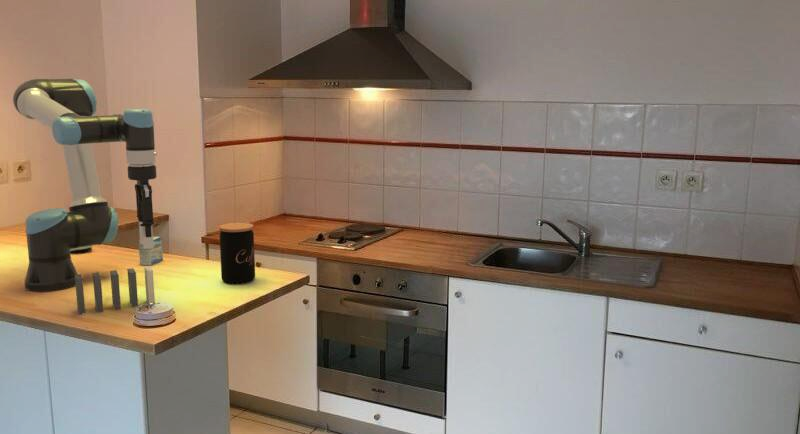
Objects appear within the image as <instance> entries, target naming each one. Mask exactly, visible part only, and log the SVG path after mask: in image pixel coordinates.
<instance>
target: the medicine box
mask: <svg viewBox="0 0 800 434" xmlns="http://www.w3.org/2000/svg"><path fill="white" fill-rule="evenodd" d="M153 241H154V248H146V249H144V248H143V244H140V240H139V241H138V243H137V244H138V255H139V265H140V266H150V265H152V266H154V265H155V263H156V264H158V263H160V262H162V261H163V260H164V259H163V258H164V257H163V244H162V243H163V242H162V236H153ZM157 262H158V263H157ZM153 264H154V265H153Z"/></svg>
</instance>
